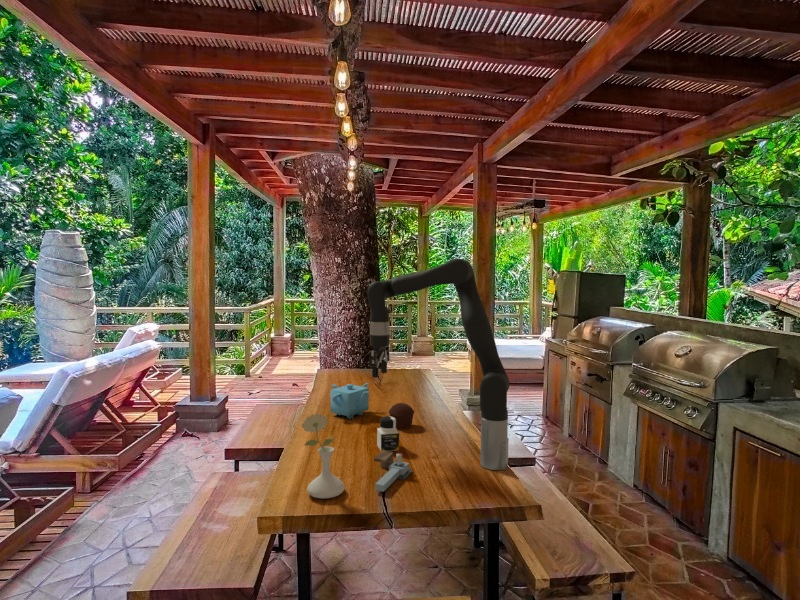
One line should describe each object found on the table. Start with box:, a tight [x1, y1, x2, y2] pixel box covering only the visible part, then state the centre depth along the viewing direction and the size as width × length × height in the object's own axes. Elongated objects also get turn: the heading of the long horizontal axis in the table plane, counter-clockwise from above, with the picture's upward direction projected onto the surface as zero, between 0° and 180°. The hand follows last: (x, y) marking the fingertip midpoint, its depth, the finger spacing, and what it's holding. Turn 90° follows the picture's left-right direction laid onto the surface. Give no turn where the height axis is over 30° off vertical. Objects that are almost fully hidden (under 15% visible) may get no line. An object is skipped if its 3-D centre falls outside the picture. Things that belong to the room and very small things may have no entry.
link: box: [374, 460, 410, 492], centre depth 150 cm, size 18×5×2 cm, turn 158°
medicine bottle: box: [376, 415, 400, 453], centre depth 179 cm, size 7×7×12 cm
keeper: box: [373, 451, 394, 470], centre depth 159 cm, size 4×7×5 cm, turn 157°
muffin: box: [388, 402, 415, 430], centre depth 205 cm, size 12×11×10 cm
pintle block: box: [395, 452, 413, 481], centre depth 156 cm, size 7×7×7 cm
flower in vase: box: [301, 413, 345, 499], centre depth 142 cm, size 13×11×25 cm
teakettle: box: [330, 382, 370, 420], centre depth 222 cm, size 19×19×15 cm
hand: (379, 375), depth 178 cm, fingers open, 8 cm apart
